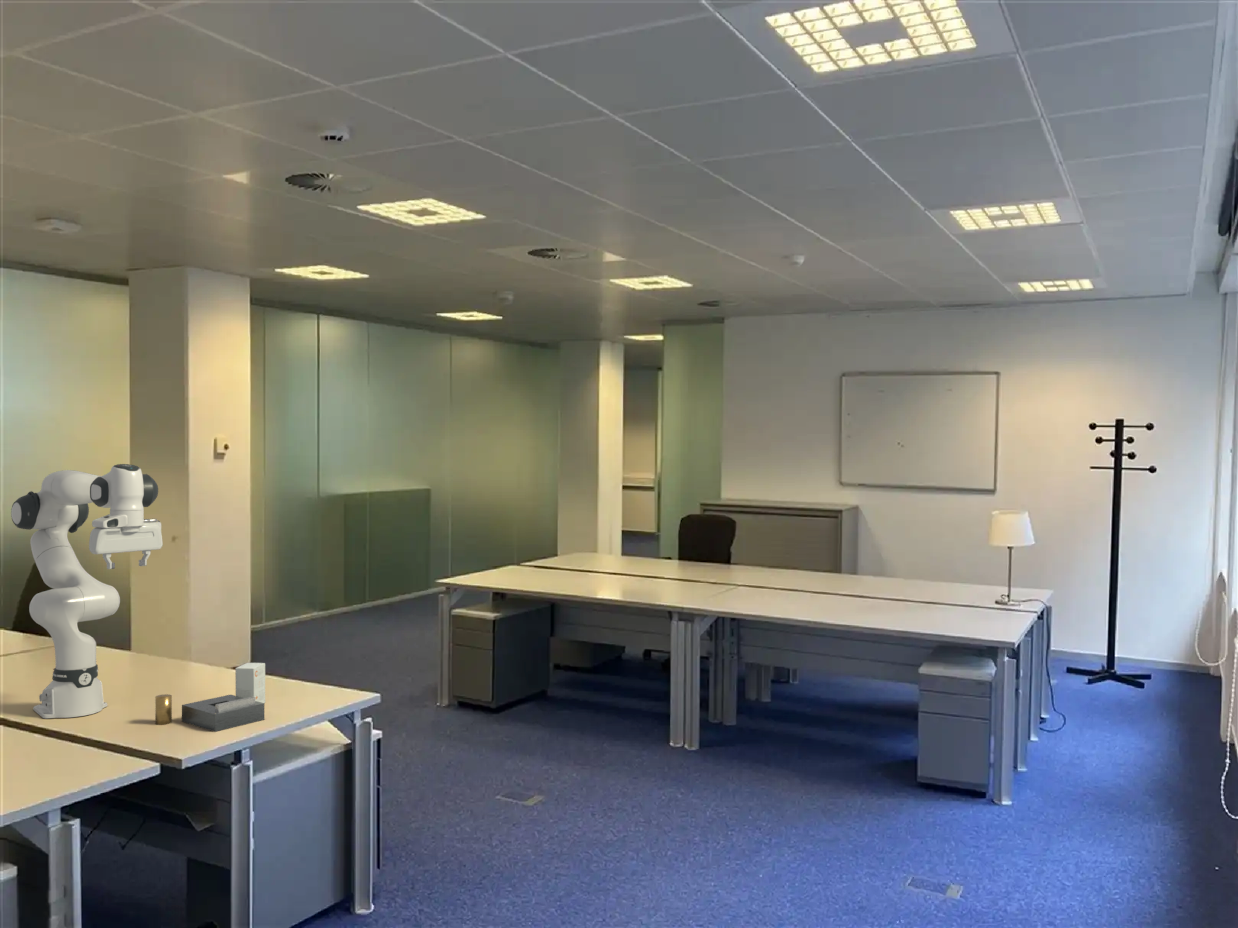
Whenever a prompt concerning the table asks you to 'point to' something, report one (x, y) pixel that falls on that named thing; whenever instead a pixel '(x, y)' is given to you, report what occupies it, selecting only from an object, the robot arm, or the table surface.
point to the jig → (223, 712)
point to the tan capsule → (163, 709)
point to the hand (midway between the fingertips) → (126, 567)
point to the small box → (251, 681)
